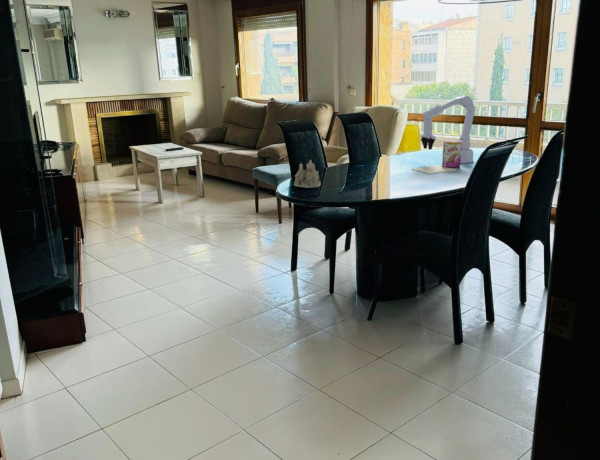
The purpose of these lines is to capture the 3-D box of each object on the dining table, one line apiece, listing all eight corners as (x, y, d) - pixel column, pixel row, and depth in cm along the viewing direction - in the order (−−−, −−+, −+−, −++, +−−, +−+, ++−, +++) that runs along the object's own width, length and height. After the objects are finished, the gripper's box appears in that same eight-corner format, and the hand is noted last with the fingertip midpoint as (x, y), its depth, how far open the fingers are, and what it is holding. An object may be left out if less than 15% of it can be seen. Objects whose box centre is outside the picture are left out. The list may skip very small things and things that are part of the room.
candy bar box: (442, 167, 354) (444, 142, 349) (441, 166, 358) (443, 141, 354) (460, 167, 352) (462, 142, 348) (459, 166, 357) (460, 141, 353)
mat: (437, 166, 363) (437, 165, 363) (456, 170, 345) (456, 169, 345) (411, 169, 356) (411, 168, 356) (430, 174, 338) (430, 173, 338)
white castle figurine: (294, 183, 336) (293, 159, 331) (320, 182, 336) (320, 158, 331) (293, 190, 322) (292, 165, 317) (321, 189, 321) (320, 164, 316)
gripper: (416, 128, 370) (416, 148, 374) (429, 130, 357) (429, 150, 361) (425, 127, 373) (425, 147, 377) (438, 129, 360) (438, 149, 364)
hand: (427, 148), depth 369 cm, fingers open, 5 cm apart
